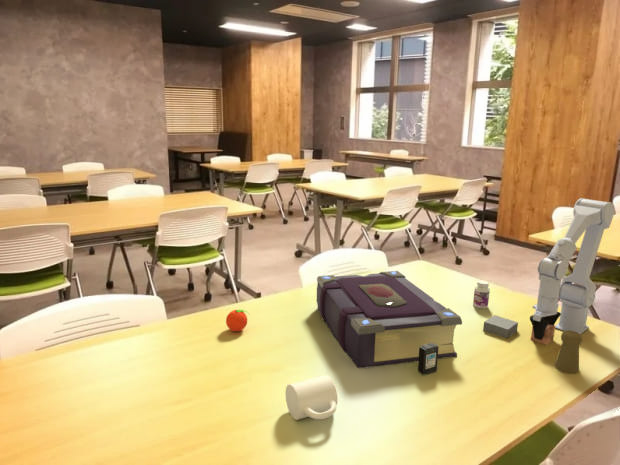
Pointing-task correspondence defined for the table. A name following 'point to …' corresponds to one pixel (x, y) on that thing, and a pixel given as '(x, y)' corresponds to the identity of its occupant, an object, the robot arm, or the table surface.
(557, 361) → the cork
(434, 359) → the ink cartridge
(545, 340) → the terracotta cube
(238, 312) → the clementine
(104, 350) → the table surface
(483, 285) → the pill bottle
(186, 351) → the table surface
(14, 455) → the table surface
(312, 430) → the table surface
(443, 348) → the book
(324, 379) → the mug
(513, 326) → the gray block
